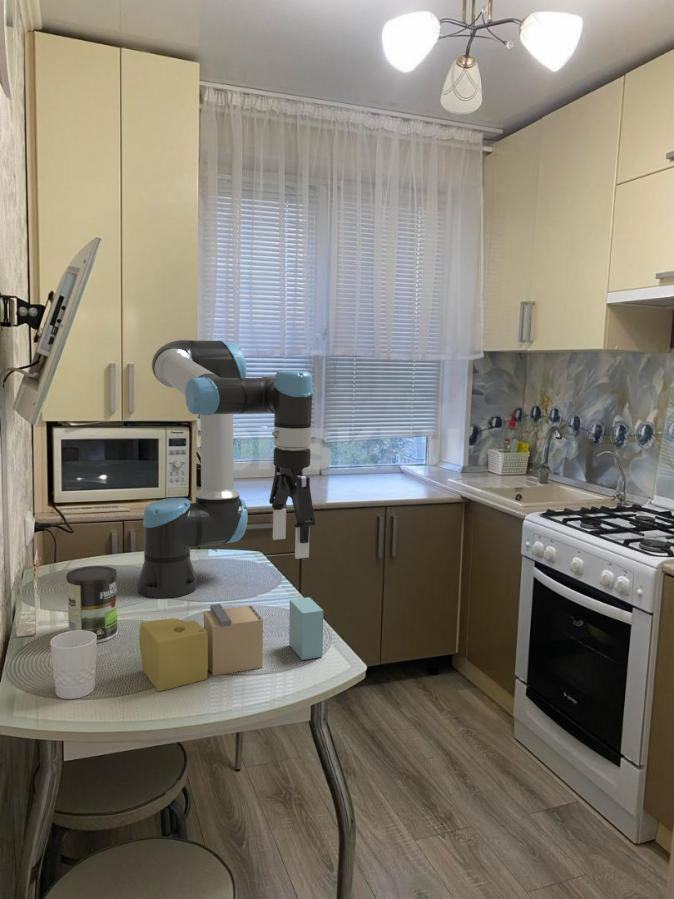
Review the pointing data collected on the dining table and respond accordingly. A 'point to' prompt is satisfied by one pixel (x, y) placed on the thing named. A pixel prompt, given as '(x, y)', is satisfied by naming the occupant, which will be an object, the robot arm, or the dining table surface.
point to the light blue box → (306, 628)
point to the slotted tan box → (233, 639)
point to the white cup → (74, 663)
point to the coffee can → (93, 601)
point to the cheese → (173, 652)
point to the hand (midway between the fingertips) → (290, 548)
